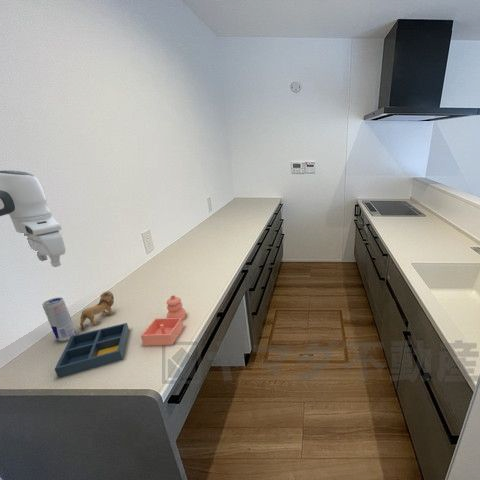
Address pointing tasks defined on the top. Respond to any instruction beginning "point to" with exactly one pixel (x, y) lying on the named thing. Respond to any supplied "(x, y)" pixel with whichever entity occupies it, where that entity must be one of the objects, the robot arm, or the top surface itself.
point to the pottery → (166, 325)
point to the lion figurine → (98, 308)
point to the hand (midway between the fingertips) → (50, 263)
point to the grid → (93, 350)
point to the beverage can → (59, 318)
